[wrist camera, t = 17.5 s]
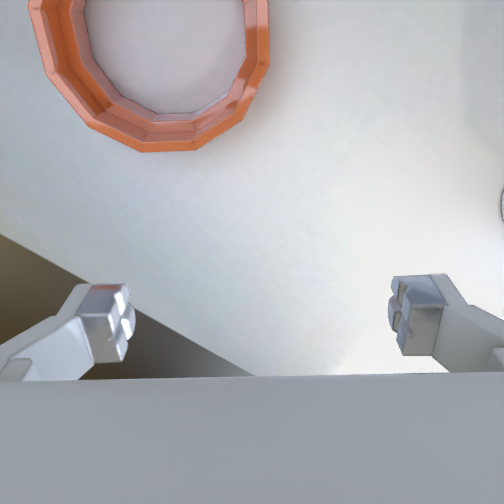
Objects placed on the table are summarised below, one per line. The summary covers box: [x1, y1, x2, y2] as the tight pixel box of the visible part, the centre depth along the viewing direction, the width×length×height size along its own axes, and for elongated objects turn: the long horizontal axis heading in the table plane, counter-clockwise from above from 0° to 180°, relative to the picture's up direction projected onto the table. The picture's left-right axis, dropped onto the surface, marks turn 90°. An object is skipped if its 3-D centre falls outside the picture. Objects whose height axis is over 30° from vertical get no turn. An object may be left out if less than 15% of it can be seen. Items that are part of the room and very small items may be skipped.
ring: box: [28, 0, 270, 152], centre depth 35 cm, size 18×18×6 cm
